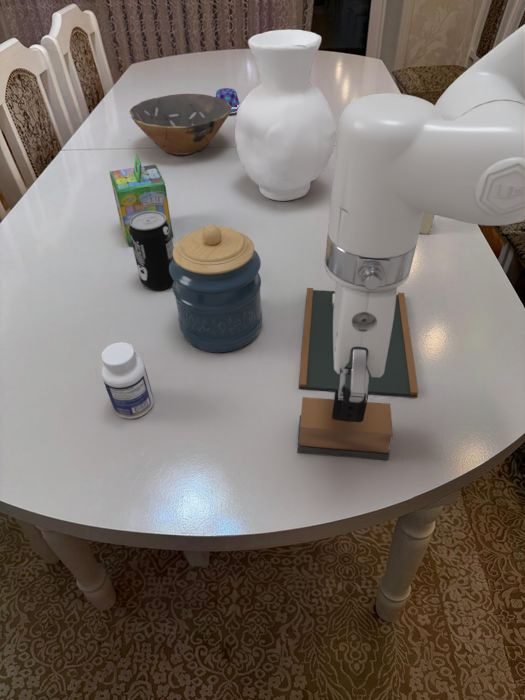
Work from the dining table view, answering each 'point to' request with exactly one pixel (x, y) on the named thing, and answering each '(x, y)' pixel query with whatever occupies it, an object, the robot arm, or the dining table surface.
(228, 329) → the canister
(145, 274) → the beverage can
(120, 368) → the pill bottle
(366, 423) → the eraser
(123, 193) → the chalk box
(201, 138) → the bowl
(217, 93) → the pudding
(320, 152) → the vase
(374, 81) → the dining table surface
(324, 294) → the board
